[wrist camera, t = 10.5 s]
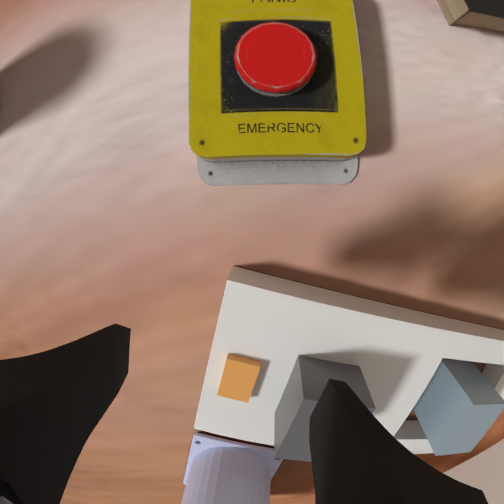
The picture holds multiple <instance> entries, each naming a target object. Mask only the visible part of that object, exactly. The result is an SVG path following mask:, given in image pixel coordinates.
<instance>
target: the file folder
mask: <svg viewBox="0 0 504 504" xmlns="http://www.w3.org/2000/svg"><path fill="white" fill-rule="evenodd" d="M437 1H438V3H439V5H440V7H441V9H442V11H443V13H444V15H445V18H446V20H447V22H448V24H449V25H451V26H453V25H454V24H460V25H467V26H473V27H478V28H483V29H488V30H494V31H500V32H504V0H437Z"/></svg>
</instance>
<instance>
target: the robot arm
mask: <svg viewBox="0 0 504 504" xmlns="http://www.w3.org/2000/svg"><path fill="white" fill-rule="evenodd" d="M130 330H131V329H130V328H127V327H124V326H121V325H118V324H113V325H111V326H108V327H106V328H103V329H101V330H99V331H97V332H94V333H92V334H90V335H88V336H85V337H83V338H80V339H78V340H76V341H73V342H71V343H68V344H65V345H62V346H59V347H57V348H54V349H51V350H48V351H45V352H41V353H37V354H33V355H29V356H24V357H19V358H12V359H5V360H0V504H60V501H61V498H62V495H63V493H64V490H65V487H66V485H67V482H68V479H69V477H70V475H71V472H72V470H73V468H74V466H75V463H76V461H77V459H78V457H79V455H80V453H81V451H82V449H83V446H84V444H85V442H86V441H87V439H88V437H89V436H90V434H91V432H92V431H93V429H94V428H95V426H96V425H97V424H98V422H99V421H100V419H101V418H102V416H103V415H104V413H105V412H106V410H107V409H108V407H109V406H110V404H111V403H112V401H113V400H114V398H115V397H116V395H117V394H118V392H119V390H120V388H121V386H122V384H123V382H124V380H125V378H126V376H127V374H128V365H129V345H130ZM309 444H310V452H311V461H312V469H313V477H314V485H315V498H316V502H315V504H488V502H487V500H486V498H485V496H484V493H483V492H482V490H479V489H476V488H474V487H471V486H469V485H466V484H464V483H461V482H459V481H457V480H454V479H453V478H451V477H449V476H447V475H445V474H443V473H441V472H439V471H438V470H436V469H434V468H433V467H431V466H430V465H428V464H427V463H425V462H424V461H422V460H421V459H420V458H418V457H417V456H416V455H414V454H413V453H412V452H410V451H409V450H408V449H407V448H406V447H405V446H403V445H402V444H401V443H400V442H399V441H398V440H397V439H396V438H394V437H393V436H392V435H391V434H390V433H389V431H388V430H387V429H386V428H385V427H384V426H383V425H382V424H381V423H380V422H379V421H378V420H377V419H376V418H375V416H374V415H373V414H372V413H371V412H370V411H369V409H368V408H367V407H366V406H365V405H364V403H363V402H362V401H361V400H360V399H359V397H358V396H357V395H356V394H355V393H354V391H353V390H352V389H351V388H350V387H349V385H348V384H347V383H346V382H345V381H340V380H334V379H329V380H328V382H327V384H326V386H325V388H324V390H323V392H322V394H321V396H320V398H319V400H318V402H317V404H316V406H315V408H314V410H313V412H312V414H311V416H310V422H309ZM282 461H283V459H281V458H274V448H268V447H262V446H257V445H251V444H246V443H241V442H236V441H231V440H227V439H222V438H218V437H214V436H210V435H206V434H202V433H195V434H194V436H193V440H192V444H191V449H190V454H189V458H188V463H187V468H186V472H185V477H184V482H183V484H184V485H186V487H185V490H184V494H183V498H182V502H181V504H270V481H271V479H272V477H273V476H274V474H275V472H276V471H277V469H278V467H279V466H280V464H281V462H282Z"/></svg>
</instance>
